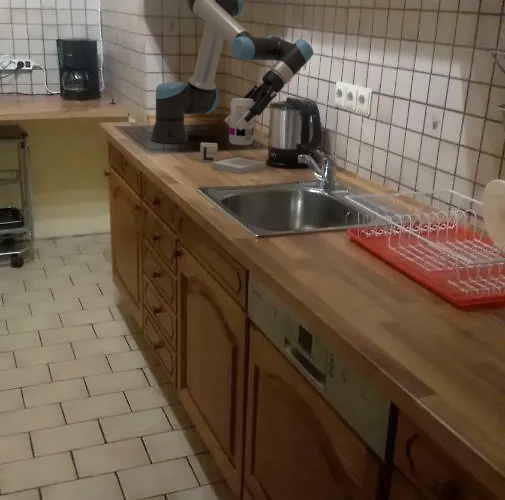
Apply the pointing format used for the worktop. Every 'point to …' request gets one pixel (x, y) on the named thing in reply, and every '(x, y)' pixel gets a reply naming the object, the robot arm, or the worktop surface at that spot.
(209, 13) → the robot arm
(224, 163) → the grey board
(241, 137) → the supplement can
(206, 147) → the letter block
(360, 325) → the worktop surface
